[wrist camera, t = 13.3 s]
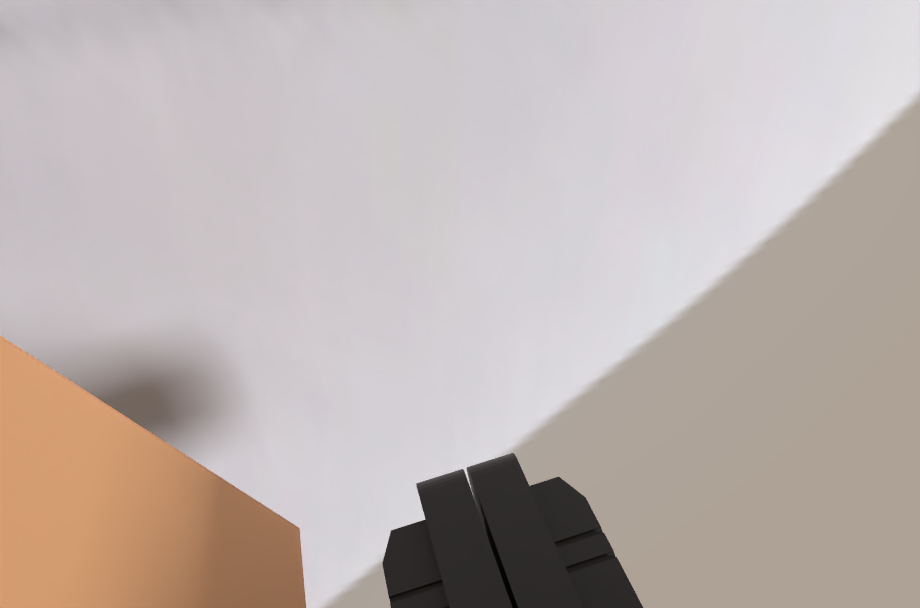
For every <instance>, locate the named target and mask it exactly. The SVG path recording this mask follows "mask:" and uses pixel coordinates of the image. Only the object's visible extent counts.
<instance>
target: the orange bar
mask: <svg viewBox="0 0 920 608" xmlns="http://www.w3.org/2000/svg"><path fill="white" fill-rule="evenodd" d="M0 608H306V602H305V590H304V578H303V567H302V555H301V543H300V531H299V528H298V527H297V526H295V525H294V524H292V523H291V522H289V521H287V520H286V519H284V518H283V517H281V516H280V515H278V514H277V513H275V512H273V511H272V510H270V509H269V508H267V507H266V506H264V505H263V504H261V503H259V502H258V501H256V500H255V499H253V498H252V497H250V496H249V495H247V494H245V493H244V492H242V491H241V490H239V489H238V488H236V487H235V486H233V485H231V484H230V483H228V482H227V481H225V480H224V479H222V478H221V477H219V476H218V475H216V474H214V473H213V472H211V471H210V470H208V469H207V468H205V467H204V466H202V465H200V464H199V463H197V462H196V461H194V460H193V459H191V458H190V457H188V456H186V455H185V454H183V453H182V452H180V451H179V450H177V449H176V448H174V447H172V446H171V445H169V444H168V443H166V442H165V441H163V440H162V439H160V438H158V437H157V436H155V435H154V434H152V433H151V432H149V431H148V430H146V429H144V428H143V427H141V426H140V425H138V424H137V423H135V422H134V421H132V420H130V419H129V418H127V417H126V416H124V415H123V414H121V413H120V412H118V411H116V410H115V409H113V408H112V407H110V406H109V405H107V404H106V403H104V402H102V401H101V400H99V399H98V398H96V397H95V396H93V395H92V394H90V393H89V392H87V391H85V390H84V389H82V388H81V387H79V386H78V385H76V384H75V383H73V382H71V381H70V380H68V379H67V378H65V377H64V376H62V375H61V374H59V373H57V372H56V371H54V370H53V369H51V368H50V367H48V366H47V365H45V364H43V363H42V362H40V361H39V360H37V359H36V358H34V357H33V356H31V355H29V354H28V353H26V352H25V351H23V350H22V349H20V348H19V347H17V346H15V345H14V344H12V343H11V342H9V341H8V340H6V339H5V338H3V337H1V336H0Z"/></svg>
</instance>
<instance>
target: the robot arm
mask: <svg viewBox="0 0 920 608" xmlns="http://www.w3.org/2000/svg"><path fill="white" fill-rule="evenodd" d="M467 472H468V477H469V481H470V485H471V489H472V492H473V495H472V492H471V489H470V486H469V483H468V481H467V478H466V475H465V472H464V470H463V469H461V470H458V471H455V472H452V473H449V474H445V475H442V476H439V477H436V478H433V479H429V480H426V481H423V482H420V483H417V484H416V485H417V489H418V493H419V496H420V500H421V504H422V508H423V511H424V515H425V519H426V520H423V521H420V522H417V523H413V524H410V525H407V526H404V527H401V528H398V529H395V530H392V531H391V533H390V537H389V541H388V545H387V549H386V552H385V556H384V560H383V569H384V574H385V579H386V584H387V589H388V594H389V599H390V602H391V603H390V605H391V608H643V606H642V605H641V603H640V601H639V599H638V597H637V595H636V593H635V591H634V589H633V587H632V585H631V583H630V582H629V580H628V578H627V576H626V574H625V572H624V570H623V568H622V566H621V564H620V562H619V561H618V559H617V557H615V555H614V552H613V549H612V547H611V545H610V543H609V542H608V540H607V538H606V536H605V534H604V533H603V532H602V529H601V526H600V524H599V522H598V521H597V519H596V517H595V515H594V513H593V511H592V510H591V507H590V505H589V503H588V501H587V500H586V498H585V497H584V496H583V495H581V494H580V493H579V492H578V491H576V490H575V489H574V488H573V487H571V486H570V485H569V484H567V483H566V482H565V481H564V480H562V479H561V478H560V477H556V478H553V479H550V480H547V481H544V482H541V483H538V484H535V485H531V486H529V484H528V482H527V480H526V478H525V475H524V473H523V471H522V469H521V467H520V464H519V462H518V460H517V458H516V456H515V454H514V453H511V454H508V455H505V456H502V457H499V458H495V459H492V460H489V461H486V462H483V463H480V464H476V465H473V466H470V467H467ZM473 497H474V498H473Z"/></svg>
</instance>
